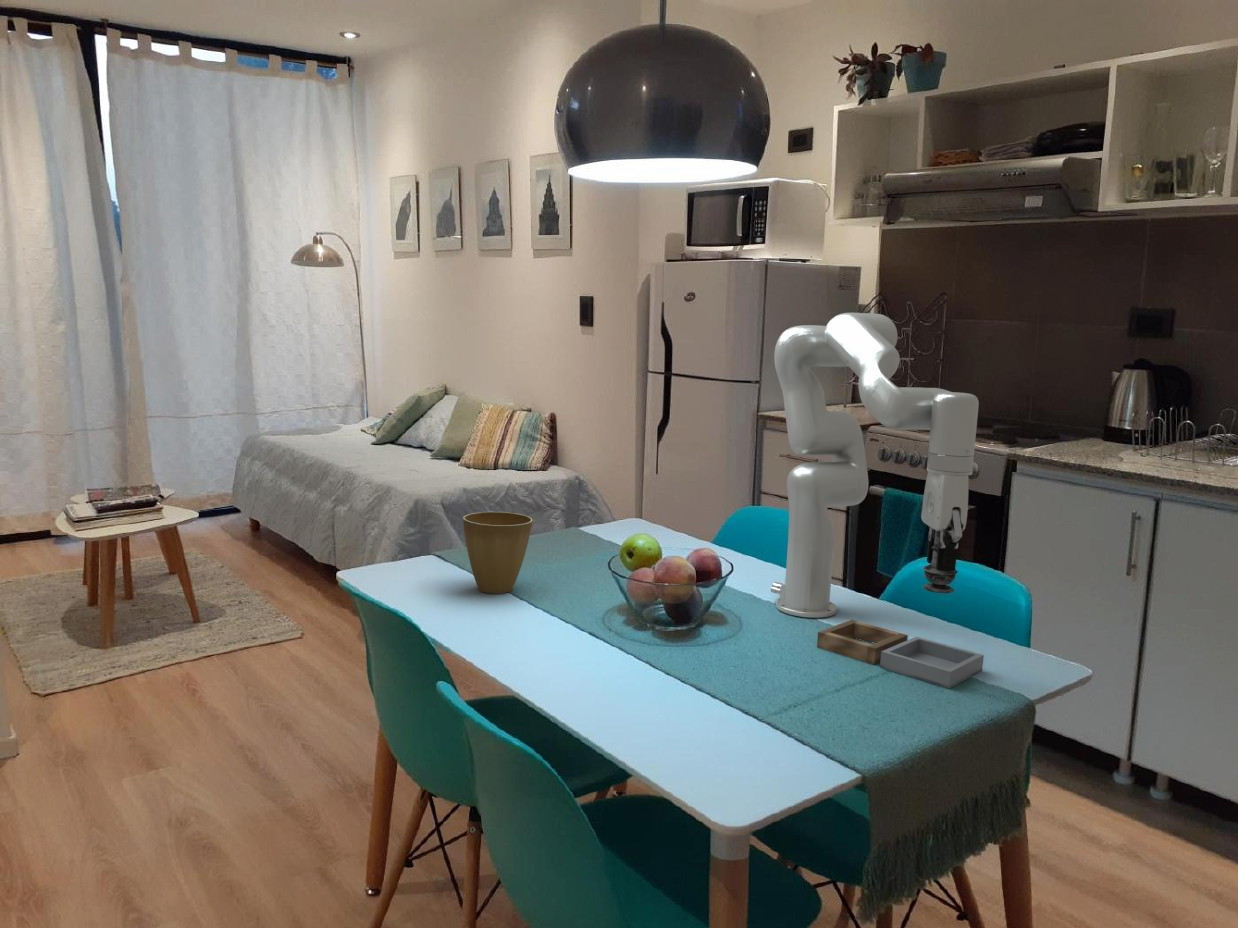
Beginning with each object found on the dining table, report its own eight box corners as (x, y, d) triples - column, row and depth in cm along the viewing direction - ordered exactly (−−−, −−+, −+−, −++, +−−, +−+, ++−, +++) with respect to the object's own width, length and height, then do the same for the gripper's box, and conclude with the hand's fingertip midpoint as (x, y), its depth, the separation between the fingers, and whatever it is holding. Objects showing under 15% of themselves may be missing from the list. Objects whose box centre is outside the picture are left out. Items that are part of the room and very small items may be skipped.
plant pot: (503, 603, 203) (505, 528, 201) (447, 590, 211) (448, 518, 208) (543, 587, 216) (545, 517, 214) (489, 576, 224) (491, 508, 221)
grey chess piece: (963, 591, 171) (969, 524, 170) (940, 595, 168) (946, 527, 166) (936, 583, 176) (942, 518, 174) (913, 586, 173) (919, 520, 171)
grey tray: (879, 667, 174) (881, 651, 174) (915, 651, 184) (916, 636, 183) (948, 688, 165) (950, 671, 165) (982, 670, 175) (983, 654, 174)
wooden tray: (816, 647, 184) (818, 631, 183) (850, 634, 192) (851, 619, 192) (873, 664, 176) (875, 648, 175) (906, 650, 184) (907, 634, 184)
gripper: (913, 456, 177) (905, 554, 180) (945, 470, 161) (935, 578, 163) (954, 457, 177) (945, 556, 180) (990, 472, 161) (979, 580, 163)
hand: (940, 565), depth 172 cm, fingers closed on grey chess piece, 4 cm apart
